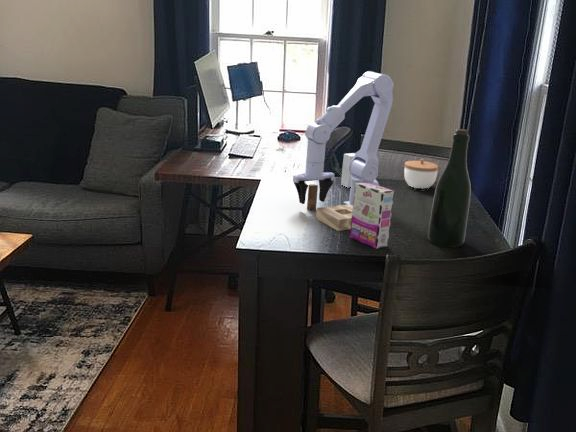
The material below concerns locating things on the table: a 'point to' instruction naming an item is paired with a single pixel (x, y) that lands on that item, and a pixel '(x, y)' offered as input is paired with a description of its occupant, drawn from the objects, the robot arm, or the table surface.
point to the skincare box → (346, 170)
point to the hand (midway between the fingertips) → (311, 202)
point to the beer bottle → (452, 197)
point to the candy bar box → (371, 214)
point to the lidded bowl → (420, 173)
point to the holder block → (336, 216)
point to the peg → (312, 197)
